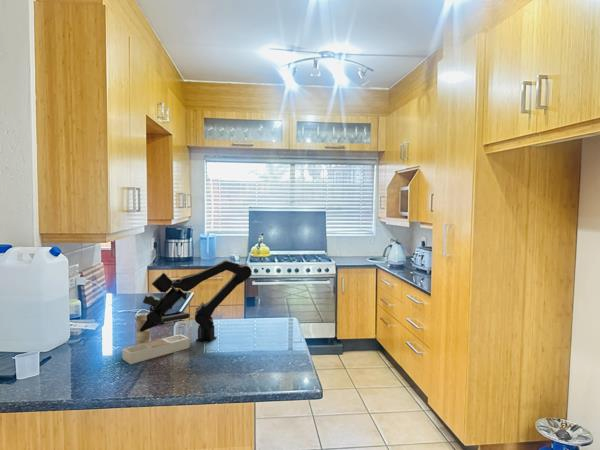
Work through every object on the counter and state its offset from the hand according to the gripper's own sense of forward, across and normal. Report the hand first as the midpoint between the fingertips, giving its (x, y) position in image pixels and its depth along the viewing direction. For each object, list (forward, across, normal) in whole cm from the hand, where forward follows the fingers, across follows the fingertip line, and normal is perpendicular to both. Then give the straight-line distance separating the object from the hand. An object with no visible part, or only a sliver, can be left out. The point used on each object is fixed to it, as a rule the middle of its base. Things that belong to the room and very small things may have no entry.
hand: (141, 327), depth 166 cm
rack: (0, +11, +10) cm, 15 cm away
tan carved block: (+5, 0, +6) cm, 7 cm away
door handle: (0, -38, +11) cm, 39 cm away
